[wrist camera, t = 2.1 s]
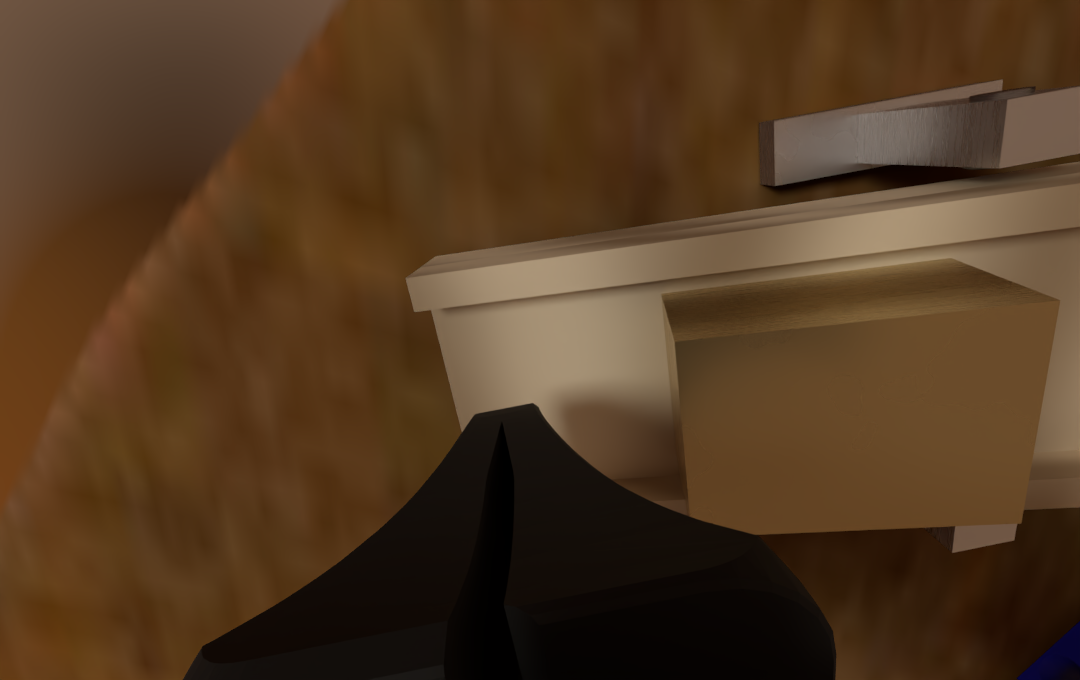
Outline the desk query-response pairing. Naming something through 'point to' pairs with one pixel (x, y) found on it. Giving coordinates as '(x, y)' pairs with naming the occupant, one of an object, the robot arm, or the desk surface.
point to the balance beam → (729, 259)
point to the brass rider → (858, 398)
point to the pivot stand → (928, 161)
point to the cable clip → (1058, 660)
